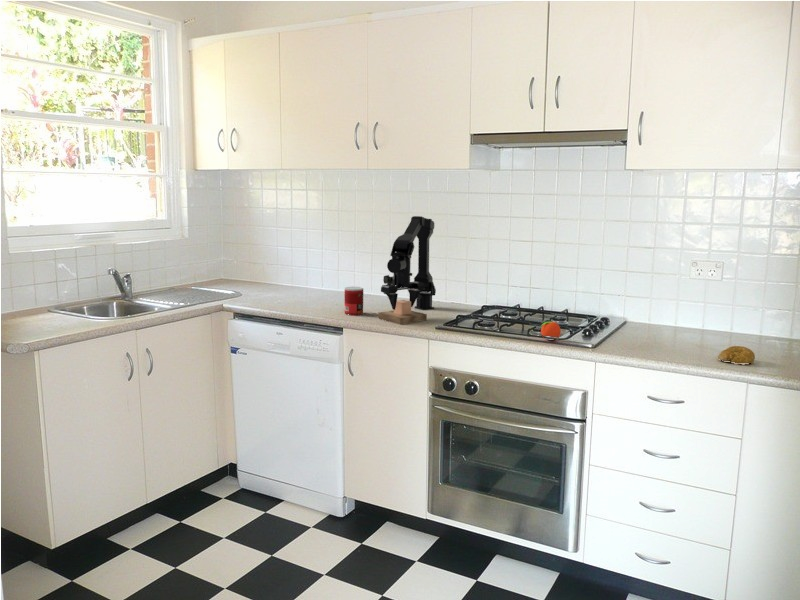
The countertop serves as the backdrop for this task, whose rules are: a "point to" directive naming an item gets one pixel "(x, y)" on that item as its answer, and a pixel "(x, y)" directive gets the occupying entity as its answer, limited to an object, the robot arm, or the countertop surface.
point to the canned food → (353, 300)
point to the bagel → (737, 355)
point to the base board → (402, 317)
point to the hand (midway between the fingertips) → (402, 308)
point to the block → (403, 307)
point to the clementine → (550, 329)
